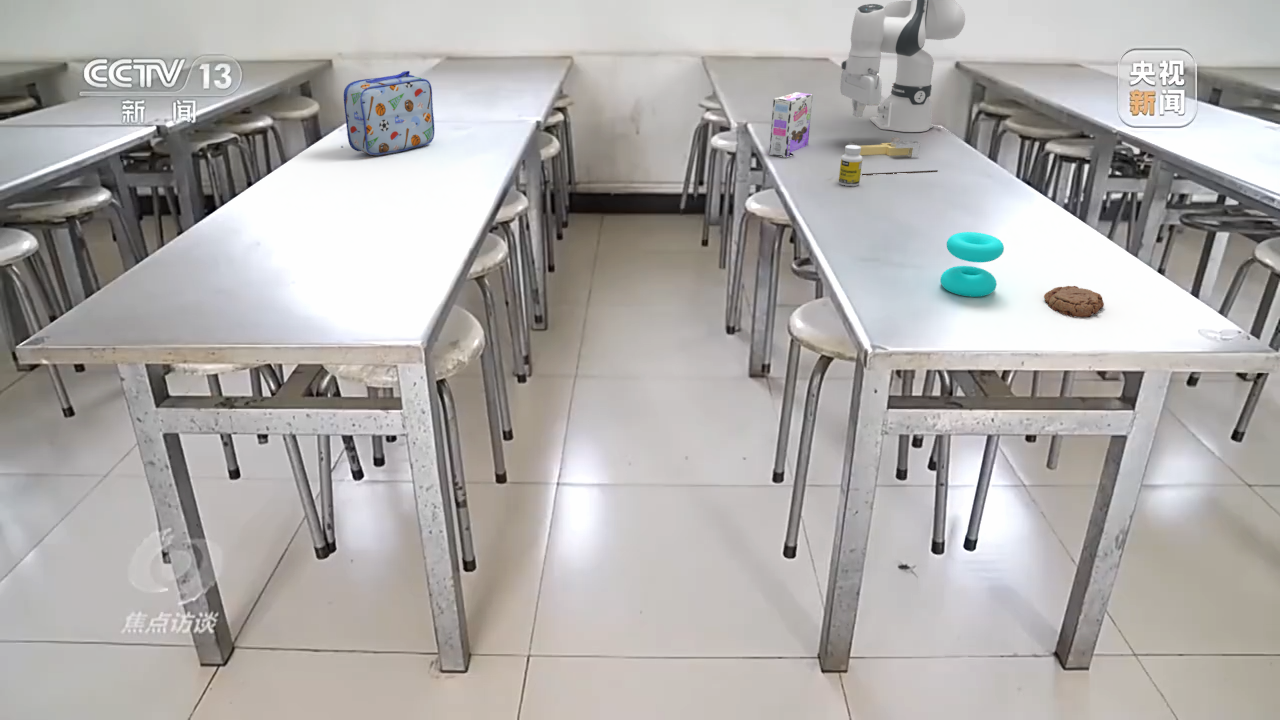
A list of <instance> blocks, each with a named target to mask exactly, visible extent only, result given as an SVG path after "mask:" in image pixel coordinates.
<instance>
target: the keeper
mask: <svg viewBox="0 0 1280 720" xmlns="http://www.w3.org/2000/svg"><path fill="white" fill-rule="evenodd" d="M890 143H891V146H892V147H894V148H909V152H908V155H907V157H908V158H910V159H918V158H919V154H920V153H919V152H920V146H921V143H920V142H919V141H917V140H904V141H903V140H900V141H899V142H891V141H890Z"/></svg>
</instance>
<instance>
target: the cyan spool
mask: <svg viewBox="0 0 1280 720" xmlns="http://www.w3.org/2000/svg"><path fill="white" fill-rule="evenodd" d="M946 248H947V251H948V252H949V253H950V254H951V255H952V256H953V257H955V258H956V259H959V260H961V261H966V262H970V263H989V262H993V261H995V260H996V259H998V258H1000V257H1001V256H1002V255H1003V254H1004V250H1005V247H1004V243H1003V242H1002V241H1001V240H1000V239H999V238H998V237H996V236H993V235H991V234H987V233H981V232H975V231H963V232H958V233H954V234H953V235H951V236H949V238H948V239H947V241H946ZM940 284H941V285H942V287H943V288H944V290H946V291H948V292H950V293H952V294H955V295H958V296H964V297H972V298H977V297H978V298H979V297H986V296H988V295H990V294H992V293H993V292H994V291H995V290H996V288H997V280H996V278H995V276H994V275H993V274H992V273H991V272H989V271H987V270H986V269H984V268H980V267H977V266H972V265H957V266H952V267H950V268H948V269H947V268H946V270H945V271H943V272H942V274H941V276H940Z"/></svg>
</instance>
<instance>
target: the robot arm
mask: <svg viewBox="0 0 1280 720" xmlns="http://www.w3.org/2000/svg"><path fill="white" fill-rule="evenodd" d="M854 14H855V15H854V16H853V17H854V18H853V22H852V26H851V34H850V42H851V43H850V44H851V45H850V50H849V52H848V57H847V59H844V60H842V61H841V63H840V64H841V65H840V69H841V73H840V83H839V84H840V86H839V87H840V94H841V95H842V96H844V97H847V98H849V99H852V100H851V105H852V116H854V117H856V118H863V115H864V110H865V108H866V106H869V107H870V106H871V107H874V106H877V115H876V116H871V117H870V122H872V123H873V124H874V125H875V126H876V127H877V128H878V129H880V130H887V131H896V132H904V133H921V132H926V131H929V130H931V128H934V124H933V123H932V114H933V113H932V110H933V102H932V100H931V99H930V97H931V93H932V77H933V76H932V75H933V70H934V64H935V62H934V59H933V57H932V55H931V54H930V53H929V52H928V51H925V50H924V49H923V48H924V46H925V43H926V40H934V41H935V40H937V41H943V40H944V41H945V40H949V39H955V38H956V37H958V36H959V35H960V34H961V32H962V31H963V30H964V26H965V23H966V14H965V11H964V9H963V7H962V6H961V5H960V4H958V2H957V1H956V0H898V1H897V0H896V1H893V2H888V3H887V4H886V5H885V6H884V5H882V4H878V3H867V4H862V5H860V6H858V7H857V8H856V11H855V13H854ZM882 53H886V54H896V74H895V75H896V76H895V82H893V83H892V86H891V90H890V95H888V97H886V98H885V99H884V100H883V101H882V102H881V99H882V78H881V77H880V74H879V72H880V67H881V66H880V65H881V56H882Z"/></svg>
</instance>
